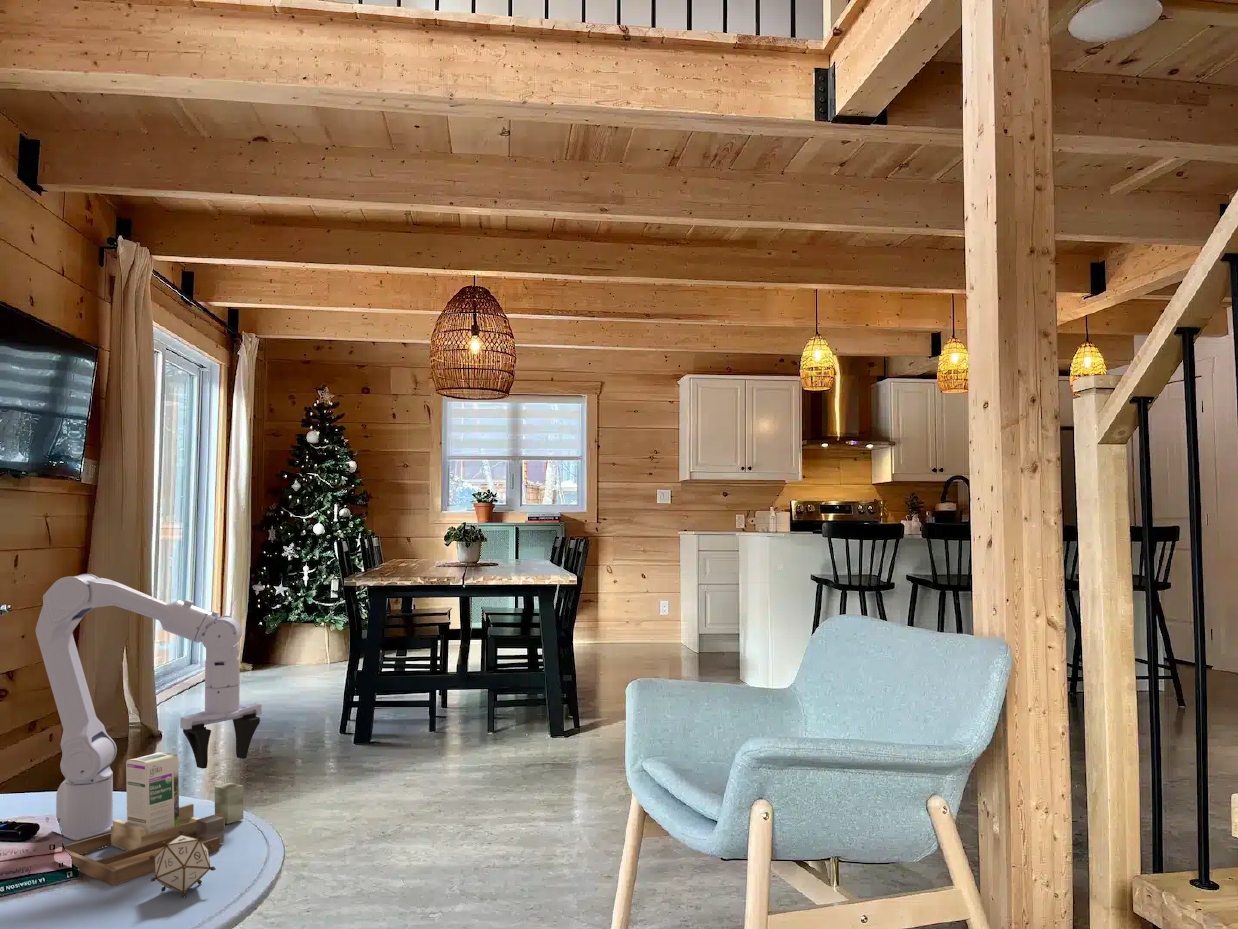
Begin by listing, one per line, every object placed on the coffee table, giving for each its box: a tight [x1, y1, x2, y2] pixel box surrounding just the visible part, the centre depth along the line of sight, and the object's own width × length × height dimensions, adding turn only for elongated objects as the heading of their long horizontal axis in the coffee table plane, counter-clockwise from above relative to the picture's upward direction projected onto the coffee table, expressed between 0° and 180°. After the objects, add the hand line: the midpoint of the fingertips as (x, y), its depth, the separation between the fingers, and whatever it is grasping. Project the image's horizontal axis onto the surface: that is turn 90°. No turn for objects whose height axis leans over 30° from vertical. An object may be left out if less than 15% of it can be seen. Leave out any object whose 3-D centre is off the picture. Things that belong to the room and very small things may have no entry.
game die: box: [149, 829, 217, 899], centre depth 135 cm, size 9×8×10 cm
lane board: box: [63, 830, 220, 886], centre depth 150 cm, size 18×17×2 cm
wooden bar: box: [107, 814, 225, 869], centre depth 149 cm, size 5×17×4 cm, turn 144°
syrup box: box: [125, 751, 180, 835], centre depth 155 cm, size 6×6×14 cm
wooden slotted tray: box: [110, 782, 244, 851], centre depth 160 cm, size 10×20×6 cm, turn 145°
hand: (222, 762), depth 168 cm, fingers open, 7 cm apart
